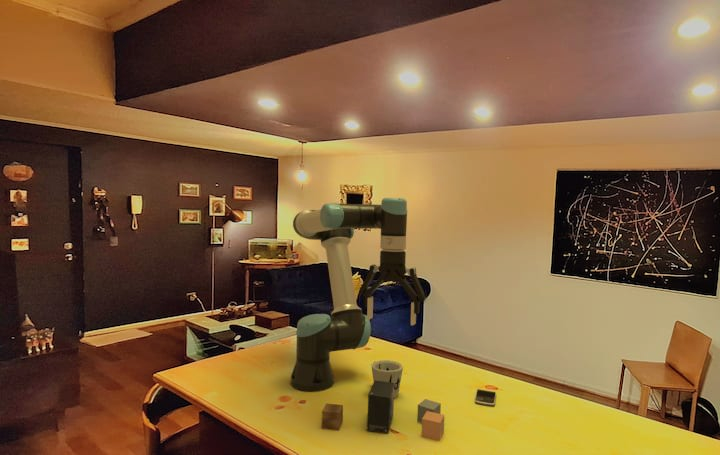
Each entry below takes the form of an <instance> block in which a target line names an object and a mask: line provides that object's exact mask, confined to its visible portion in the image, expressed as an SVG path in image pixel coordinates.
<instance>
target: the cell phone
mask: <svg viewBox="0 0 720 455" xmlns="http://www.w3.org/2000/svg"><path fill="white" fill-rule="evenodd" d="M475 393H476V394H475V397H474V404H476V405H481V406H485V407H490V408H491V407H493V408H494V406H496V405H495V404H496V396H497V391H491V390H485V389H479V388H477V390H476V392H475Z"/></svg>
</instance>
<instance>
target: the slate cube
mask: <svg viewBox="0 0 720 455" xmlns="http://www.w3.org/2000/svg"><path fill="white" fill-rule="evenodd" d="M441 405H442V404H441V402H437V401H434V400H432V399H431V400H430V399H426V398H425V399H423V400H422V401H421V402H420V403H418V404H417V415H416V416H417V417H416V418H417V423H420V424H422V418H423V416H424V415H425V413H426V412H427V411H429V412H434V413H438V414H441V409H442V406H441Z"/></svg>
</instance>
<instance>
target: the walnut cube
mask: <svg viewBox="0 0 720 455" xmlns="http://www.w3.org/2000/svg"><path fill="white" fill-rule="evenodd" d="M343 422H344V405H343V404H336V403H329V402H328V403H325V405H324V407H323V409H322V411H321V429H323V430H329V431H330V430H333V431H340V429H341V427H342V424H343Z"/></svg>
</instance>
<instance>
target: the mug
mask: <svg viewBox="0 0 720 455" xmlns="http://www.w3.org/2000/svg"><path fill="white" fill-rule="evenodd" d="M403 366H404V365H403V364H402V363H400V362H398V361H395V360H389V359H387V360H386V359H382V360H377V361H374V362H372V364H371V374H372V381H373V383H374V381H375V380H376V381H383V382H391V383H394V399H396V398H397V397H398V396H399V392H400V387H401V380H402V374H403V369H404V367H403Z"/></svg>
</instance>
